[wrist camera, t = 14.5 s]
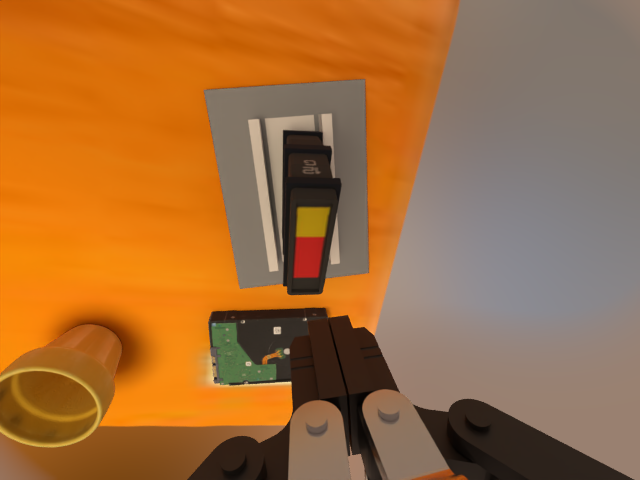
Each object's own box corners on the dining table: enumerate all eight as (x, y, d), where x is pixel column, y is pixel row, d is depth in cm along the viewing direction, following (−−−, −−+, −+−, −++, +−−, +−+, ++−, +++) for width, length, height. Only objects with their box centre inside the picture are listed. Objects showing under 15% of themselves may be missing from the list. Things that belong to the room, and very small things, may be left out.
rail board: (205, 90, 32) (198, 87, 29) (362, 80, 34) (371, 76, 31) (240, 284, 40) (237, 299, 37) (366, 269, 42) (374, 282, 38)
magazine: (322, 98, 31) (344, 195, 21) (311, 204, 41) (323, 307, 30) (282, 96, 31) (286, 194, 20) (281, 203, 40) (283, 308, 30)
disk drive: (324, 303, 44) (210, 309, 41) (328, 315, 41) (206, 322, 39) (322, 365, 47) (217, 373, 45) (325, 380, 44) (213, 389, 42)
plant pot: (157, 348, 42) (124, 412, 33) (98, 391, 43) (51, 463, 34) (91, 294, 38) (33, 349, 29) (29, 342, 39) (-45, 409, 30)
